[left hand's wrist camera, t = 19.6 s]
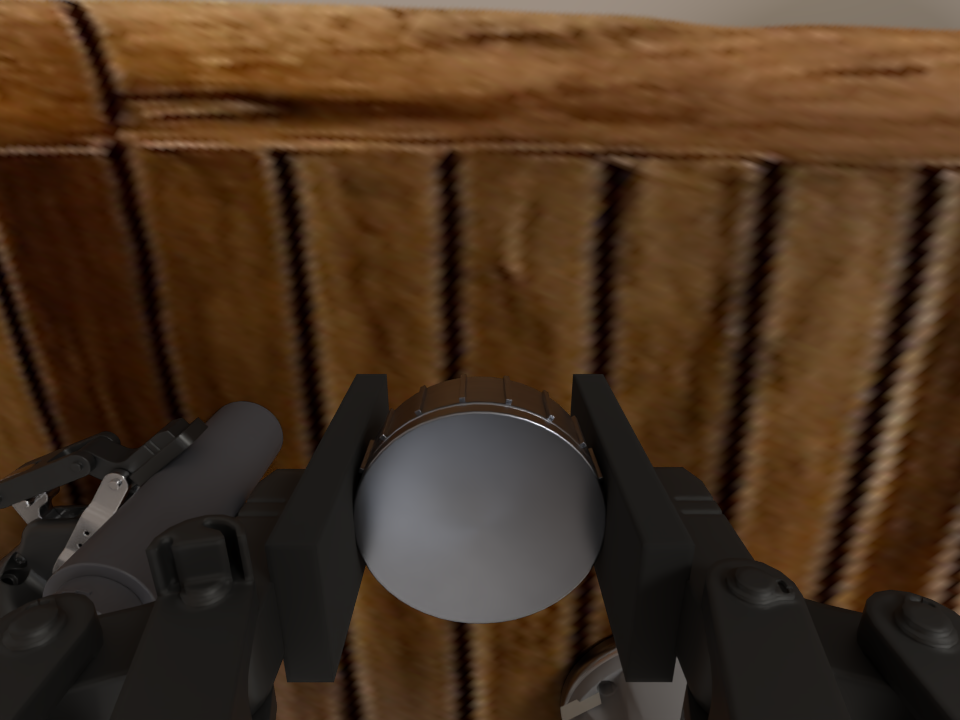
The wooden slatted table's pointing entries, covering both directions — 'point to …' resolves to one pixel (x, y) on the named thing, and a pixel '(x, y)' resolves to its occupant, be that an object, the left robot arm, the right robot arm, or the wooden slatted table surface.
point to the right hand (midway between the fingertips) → (233, 465)
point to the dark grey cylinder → (172, 507)
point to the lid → (479, 501)
